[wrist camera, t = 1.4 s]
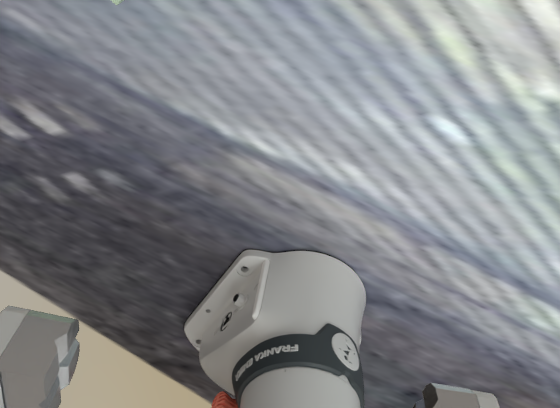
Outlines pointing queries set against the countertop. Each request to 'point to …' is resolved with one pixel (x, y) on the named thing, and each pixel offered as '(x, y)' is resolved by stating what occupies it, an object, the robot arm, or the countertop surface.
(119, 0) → the sage green cube
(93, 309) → the countertop surface
